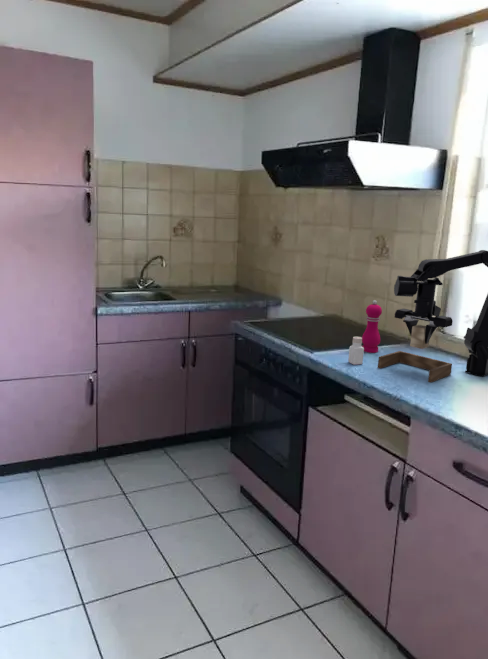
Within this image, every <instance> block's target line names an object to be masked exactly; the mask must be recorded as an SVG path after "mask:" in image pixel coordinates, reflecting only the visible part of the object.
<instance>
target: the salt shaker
mask: <svg viewBox="0 0 488 659" xmlns="http://www.w3.org/2000/svg"><path fill="white" fill-rule="evenodd" d="M362 344H363V343H362V336H353V337H352V344H351V345H350V346H349V349H348V363H350V364H352V365H354V366H355V365H356V366H357V365H363V361H364V353H365V352H364V348H363V347H362Z"/></svg>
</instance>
